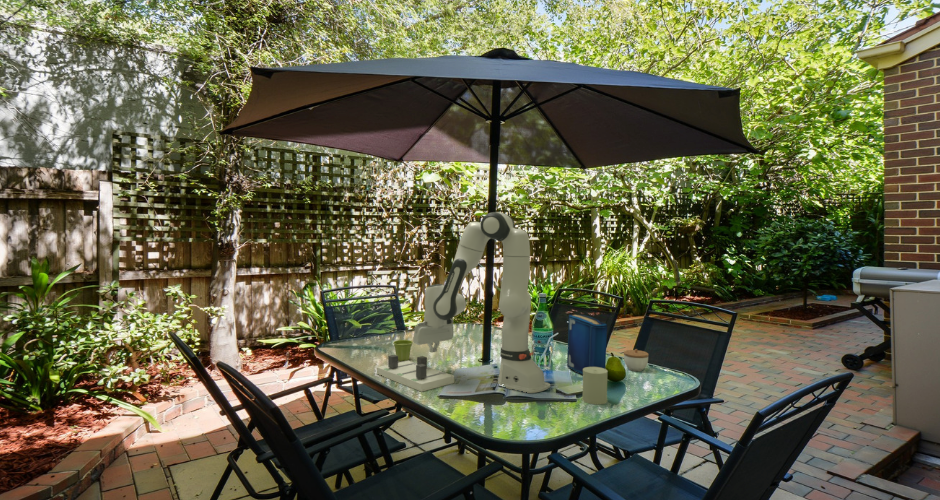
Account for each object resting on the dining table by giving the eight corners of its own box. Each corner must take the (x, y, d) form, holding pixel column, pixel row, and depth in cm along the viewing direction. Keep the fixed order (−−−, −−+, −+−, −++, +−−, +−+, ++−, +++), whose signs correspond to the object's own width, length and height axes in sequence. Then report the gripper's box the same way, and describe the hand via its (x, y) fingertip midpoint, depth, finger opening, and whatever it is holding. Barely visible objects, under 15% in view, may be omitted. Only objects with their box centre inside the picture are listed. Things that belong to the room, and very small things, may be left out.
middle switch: (426, 368, 221) (426, 357, 220) (421, 370, 218) (421, 358, 218) (422, 367, 223) (422, 355, 222) (417, 368, 221) (417, 357, 220)
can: (583, 403, 188) (583, 371, 188) (581, 395, 197) (581, 364, 197) (608, 405, 187) (609, 372, 186) (605, 396, 196) (606, 366, 196)
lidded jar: (643, 366, 239) (644, 346, 239) (651, 373, 229) (651, 352, 228) (620, 366, 240) (621, 346, 239) (627, 372, 229) (627, 351, 229)
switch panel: (454, 382, 212) (454, 375, 212) (421, 391, 201) (421, 383, 200) (408, 366, 235) (408, 360, 235) (376, 374, 224) (376, 366, 224)
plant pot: (416, 359, 250) (416, 341, 249) (404, 363, 242) (404, 345, 241) (401, 356, 254) (401, 339, 254) (389, 360, 246) (389, 342, 246)
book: (608, 379, 218) (609, 321, 217) (594, 381, 215) (595, 322, 214) (579, 366, 238) (580, 313, 237) (566, 368, 235) (567, 314, 234)
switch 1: (398, 367, 222) (398, 356, 222) (392, 368, 220) (392, 357, 220) (394, 365, 225) (394, 354, 224) (388, 367, 223) (388, 355, 222)
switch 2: (426, 377, 208) (426, 365, 207) (420, 379, 206) (420, 366, 205) (421, 375, 210) (422, 363, 210) (416, 377, 208) (416, 365, 208)
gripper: (419, 324, 215) (418, 357, 216) (456, 319, 229) (455, 350, 230) (410, 322, 220) (409, 354, 220) (447, 317, 234) (446, 347, 234)
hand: (433, 351), depth 225 cm, fingers closed
